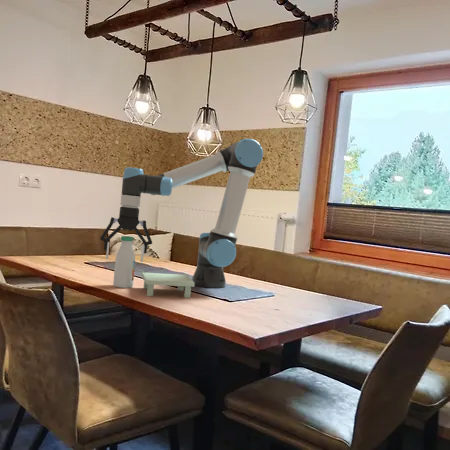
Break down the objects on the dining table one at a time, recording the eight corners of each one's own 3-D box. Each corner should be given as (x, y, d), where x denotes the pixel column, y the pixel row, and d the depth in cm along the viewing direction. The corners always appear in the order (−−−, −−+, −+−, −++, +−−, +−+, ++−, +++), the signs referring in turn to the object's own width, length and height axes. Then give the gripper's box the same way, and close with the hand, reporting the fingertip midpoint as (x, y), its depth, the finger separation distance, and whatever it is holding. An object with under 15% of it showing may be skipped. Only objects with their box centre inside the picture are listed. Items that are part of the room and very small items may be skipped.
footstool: (184, 289, 195) (186, 274, 195) (193, 298, 177) (194, 282, 177) (140, 287, 190) (142, 272, 190) (144, 296, 173) (146, 280, 172)
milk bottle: (128, 289, 184) (132, 238, 183) (109, 286, 185) (114, 235, 184) (135, 286, 191) (140, 237, 190) (118, 283, 193) (122, 235, 192)
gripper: (160, 209, 194) (154, 261, 195) (97, 203, 187) (92, 256, 188) (162, 210, 187) (156, 263, 187) (97, 203, 180) (91, 258, 181)
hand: (124, 260), depth 188 cm, fingers open, 13 cm apart
